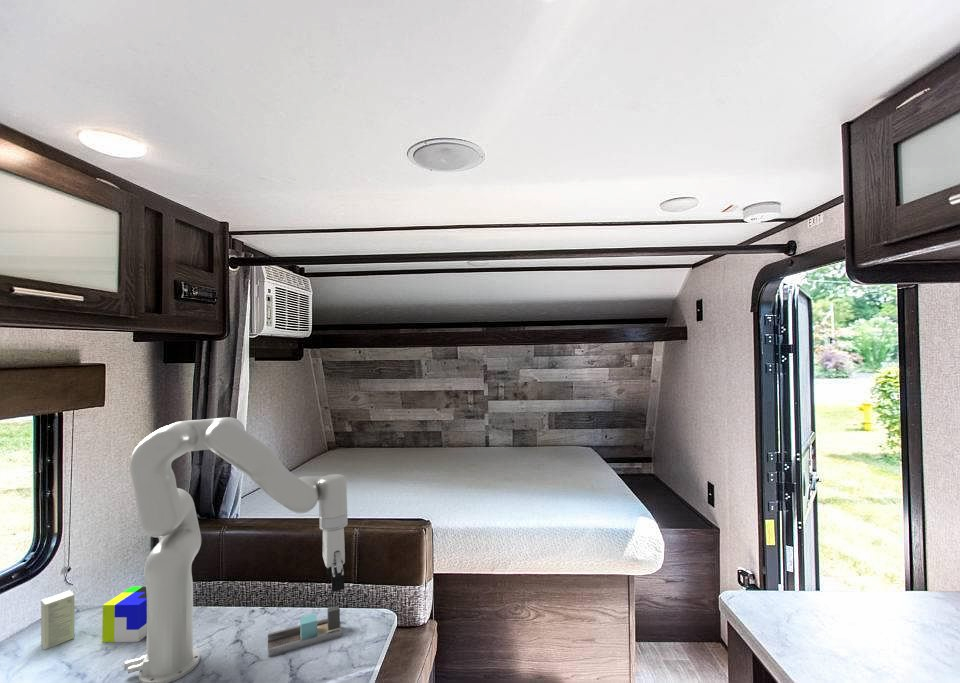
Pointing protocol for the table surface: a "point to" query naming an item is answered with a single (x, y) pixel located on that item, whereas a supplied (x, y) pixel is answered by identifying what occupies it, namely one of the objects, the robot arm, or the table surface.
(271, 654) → the board
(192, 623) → the robot arm
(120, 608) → the puzzle toy
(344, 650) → the table surface
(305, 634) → the cube
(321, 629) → the cream sled with handle
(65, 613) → the skincare box
